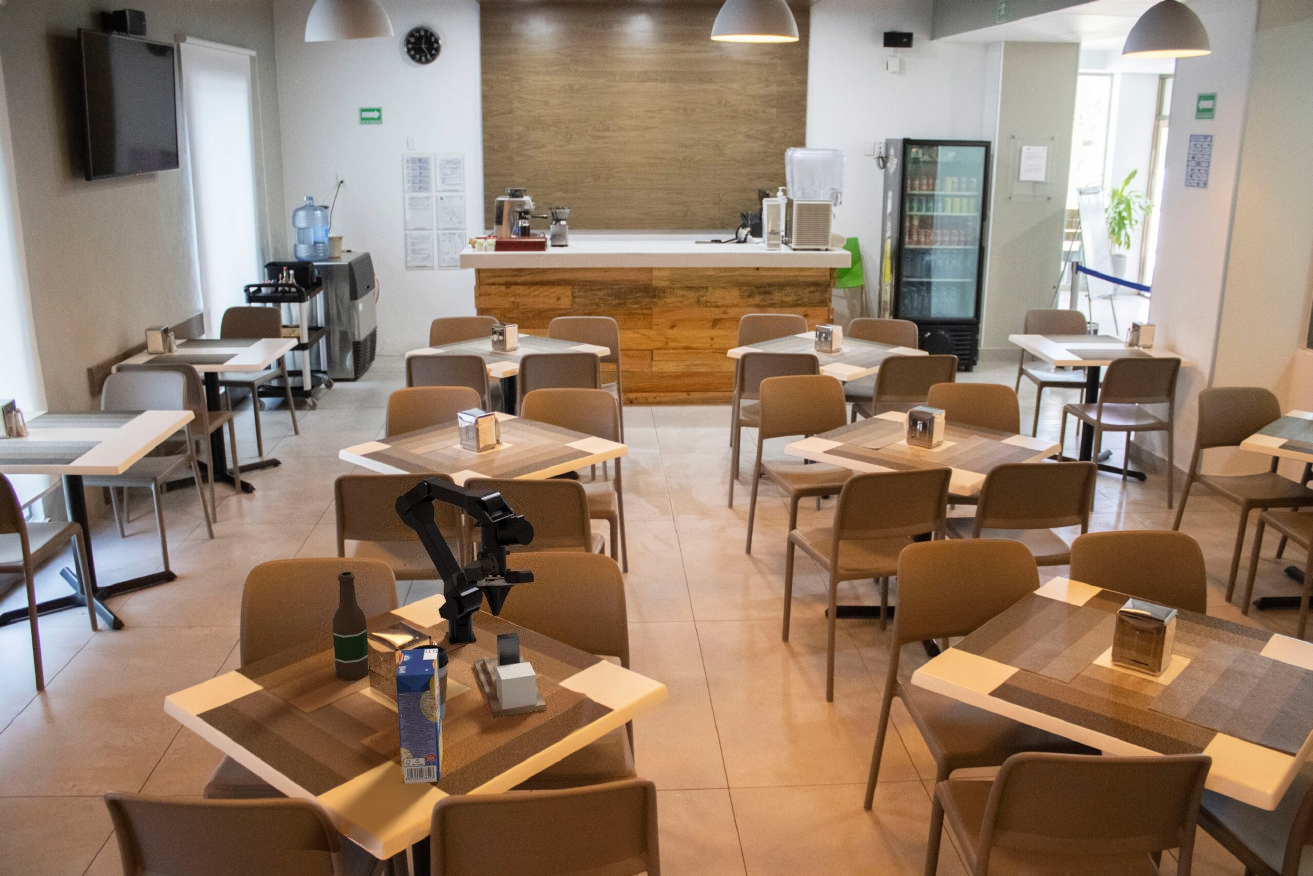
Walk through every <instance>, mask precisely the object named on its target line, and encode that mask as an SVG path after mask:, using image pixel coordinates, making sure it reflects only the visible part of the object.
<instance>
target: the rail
mask: <svg viewBox="0 0 1313 876" xmlns="http://www.w3.org/2000/svg"><path fill="white" fill-rule="evenodd" d="M525 662H526V661H525V659H524V657H523V655H522V654H521V653H520V663H525ZM473 666H474V669H475V672H476V675H477V676H478V680H479V682H480V684H481V687H482V690H483V693H484V696H485V697H486V699H487V702H488V705H489V707H490V710H491V712H493V713H492V716H493V717H494V718H500V717H499V716H502V717H504V716H503V715H508V716H512V715H511V714H515V715H518V714H517V713H521V714H525V713H524V712H527V713H531V712H530V711H534V712H536V711H535V710H540V711H545V710H544V709H546V710H547V704H546V701H545V699H544V697H543V695H542V693H541V691H540V688H539V687H538V685H537V684H536V702H537V704H535V705H528V706H522V707H515V708H509V709H502V706H501V704H500V702H499V699H498V697H497V680H496V667H497V666H498V657H492V658H489V657H488V656H486V655H485V656H483V657H482V659H479V660H478V659H477V660H473Z"/></svg>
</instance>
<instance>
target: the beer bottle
mask: <svg viewBox="0 0 1313 876" xmlns="http://www.w3.org/2000/svg"><path fill="white" fill-rule="evenodd" d="M354 580H355V573H354V572H353V571H342V572H340V573H339V574H338V576H337V581H339V604H338V608H337V609H336V611H335V612H334V615H333V619H332V635H333V637H332V638H333V650H334V651H333V652H334V662H335V663H334V664H335V674H336V678H337V679H339V680H342V681H347V682H350V681H357V680H361V679H363V678H365V677H367V676H368V675H369V674H370V668H369V669H368V656H369V645H368V644H369V641H368V629H367V620H366V616H365V613H364V612H363V610H362V608H360V606H359V605H358V602H357V598H356V589H355V581H354ZM368 673H369V674H368Z"/></svg>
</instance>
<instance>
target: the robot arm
mask: <svg viewBox="0 0 1313 876" xmlns="http://www.w3.org/2000/svg"><path fill="white" fill-rule="evenodd" d="M436 500H437V501H441V502H443V503H447V504H449V505H452V506H456V507H458V508H461V509H463V510H464V512H465V513H466V515H468V516H469V517H471V518H472V519H475V520H476V522H475V523H474V524H473V528H475V529H477V528H479V529H480V551H478V552H477V553H476V559H475V560H473V561H471V562H469V563H467V564H466V565H464V566H463V567H462V568H461V567H460V565H459V563H458V561H457V559H456V557H455V556H454V554H453V552H452V551H451V549H450V547H449V545H448V544H447V541H446V540H445V537H444V536H443V534H442V532H441V531H440V528H439V526H438V525H437V523H436V521H435V513H436V512H435V511H436V510H435V506H434V502H435V501H436ZM394 509H395V512H396V513H397V515H398V516H399V518H400V520H401V521H402V522H403V524H404V525H406V526H408V527H409V528H411V529H413V530H414V531H415V532H416V534H417V536H418V537H419V540H420V542H421V543H422V546H423V548H424V549H425V550H426V552H427V554H428V556H429V558H430V560H431V561H432V563H433V564H434V567H435V569H436V571H437V573H438V574H439V576H440V577H441V580H442V582H443V595H442V596H443V597H444V600H445V602H444V603H443V604H442V605H441V606H440V607H439V608H438V614H439V616H440V619H441V618H442V619H443V620H447V623H448V625H447V626H448V631H446V632H445V636H446V639H447V641H448V644H449V645H457V644H465V643H475V642H477V637H476V635H475V633H474V630H473V614H474V613H477V612H479V611H480V608H481V605H482V603H483V600H484V599H483V598H485V599H486V601H487V604H488V605H489V606H488V607H489V609H490V612H491V615H492V616H493V617H498V616H500V613H501V611H502V608H503V605H504V604H505V601H506V599H507V597H508V595H509V594H510V591H511V589H512V587H515V586H516V584H529V583H534V582H535V575H534V573H533V571H532V570H531V569H520V570H519V569H518V570H511V568H508V563H507V562H508V560H507V558H508V557H507V556H510V555H511V550H507V547H519V546H528V545H530V544H531V543H532V542H533V540H534V536H535V531H534V530H535V529H534V527H533V525H532V523H531V522H530V521H528V520H526V519H525V515H524V514H518V515H517V514H516V513H515V511H514V509H513V508H512V507H511V506H510V505H509V504H508V503H507V501H506V500H505V499H504V497H503V496H502V494H501V492H499V491H498V490H494V489H471V488H468V487H465V486H462V485H459V484H456V483H453V482H450V481H448V480H444V479H441V477H439V476H432V477H427V478H425V479H422V480H420V482H418V483H417V484H416V485H415V486H413V488H411V489H410V490H408V491H406V492H405V493H404V494H401V495H399V496H398V497H397V498H396V500H395V505H394ZM462 570H463V571H462ZM484 596H485V597H484Z"/></svg>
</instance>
